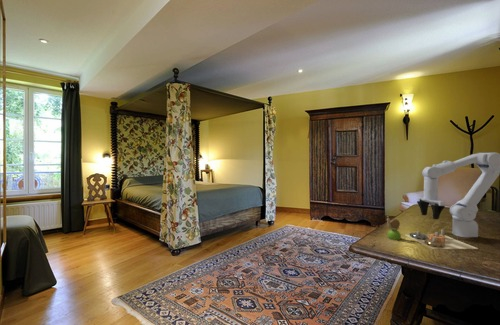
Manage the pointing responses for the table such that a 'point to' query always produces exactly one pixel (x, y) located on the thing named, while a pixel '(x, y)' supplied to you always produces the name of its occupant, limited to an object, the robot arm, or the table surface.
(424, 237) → the gear
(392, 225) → the snail figurine
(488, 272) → the table surface
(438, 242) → the gear
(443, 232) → the gear board
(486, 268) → the table surface
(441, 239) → the idler gear
